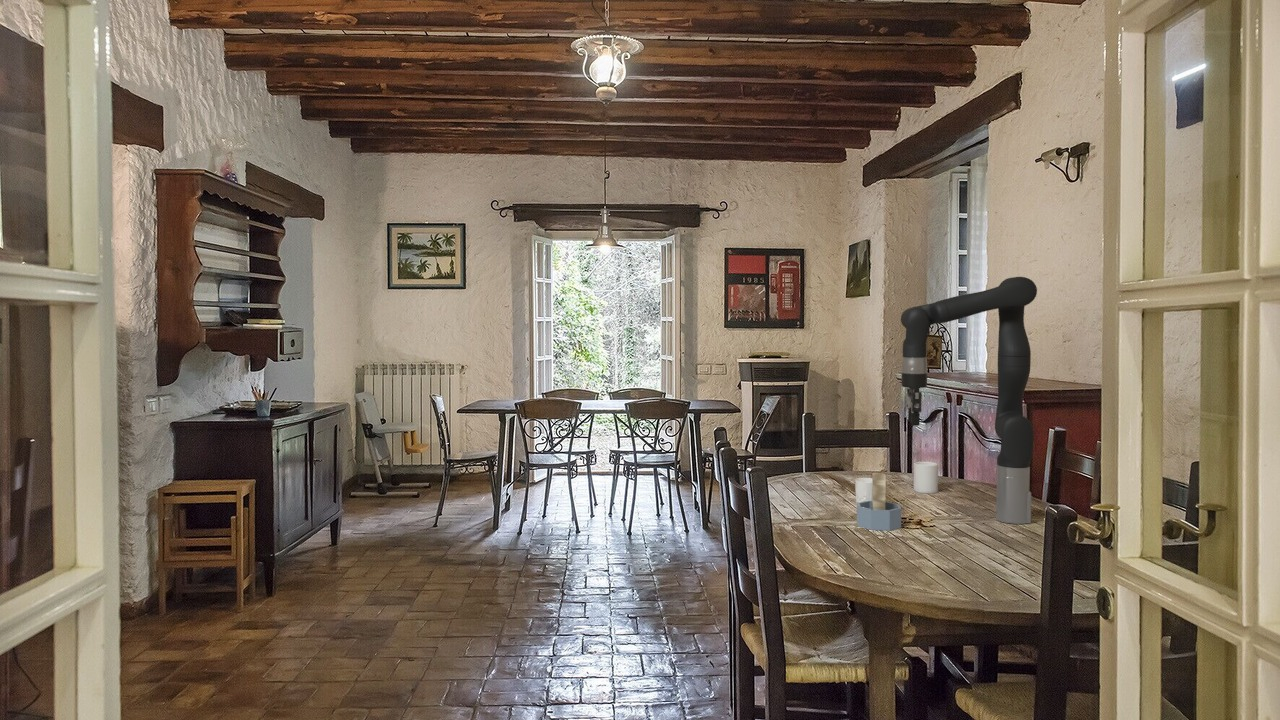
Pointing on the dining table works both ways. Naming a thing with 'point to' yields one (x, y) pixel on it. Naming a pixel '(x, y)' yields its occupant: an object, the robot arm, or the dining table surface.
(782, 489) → the dining table surface
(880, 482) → the tan square peg
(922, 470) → the mug
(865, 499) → the white cup
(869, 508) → the blue octagonal holder
